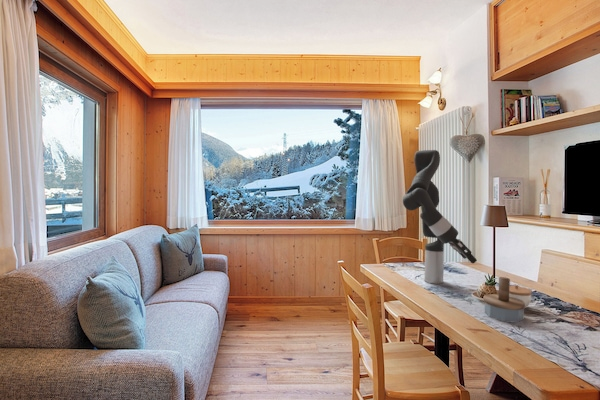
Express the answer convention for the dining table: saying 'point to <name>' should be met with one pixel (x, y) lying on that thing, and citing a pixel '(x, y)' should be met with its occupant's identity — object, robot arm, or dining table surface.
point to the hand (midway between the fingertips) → (470, 259)
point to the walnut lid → (504, 297)
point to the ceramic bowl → (504, 313)
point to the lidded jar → (520, 294)
